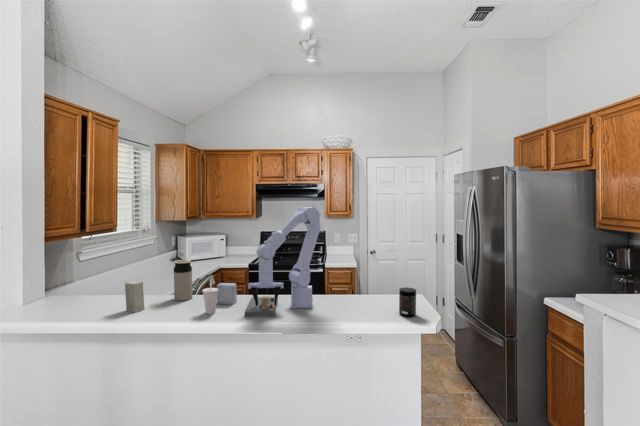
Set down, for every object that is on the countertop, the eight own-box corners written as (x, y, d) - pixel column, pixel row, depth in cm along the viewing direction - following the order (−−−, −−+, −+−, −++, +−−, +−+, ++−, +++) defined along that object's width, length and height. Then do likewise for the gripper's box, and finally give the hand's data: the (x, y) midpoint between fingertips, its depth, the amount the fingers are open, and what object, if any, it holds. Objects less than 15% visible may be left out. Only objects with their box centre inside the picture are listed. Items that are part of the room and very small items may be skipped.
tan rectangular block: (270, 310, 148) (270, 296, 148) (269, 312, 144) (269, 298, 144) (262, 310, 148) (262, 296, 147) (261, 312, 144) (261, 298, 144)
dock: (277, 301, 160) (277, 296, 160) (274, 316, 140) (274, 310, 140) (251, 301, 160) (251, 296, 159) (244, 316, 140) (244, 311, 139)
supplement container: (417, 313, 143) (417, 288, 142) (413, 318, 137) (414, 292, 136) (401, 311, 146) (401, 286, 146) (397, 316, 140) (397, 290, 140)
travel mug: (183, 301, 159) (183, 263, 159) (170, 300, 162) (169, 261, 162) (196, 297, 167) (195, 260, 166) (183, 295, 170) (182, 259, 169)
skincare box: (144, 309, 148) (143, 281, 148) (135, 312, 144) (134, 284, 144) (134, 307, 151) (133, 280, 151) (125, 310, 147) (124, 282, 146)
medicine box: (236, 301, 160) (236, 283, 159) (233, 304, 155) (233, 285, 155) (220, 301, 160) (220, 282, 160) (216, 304, 156) (216, 285, 156)
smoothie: (221, 310, 147) (221, 278, 146) (212, 315, 141) (211, 281, 140) (209, 309, 149) (208, 277, 148) (199, 314, 143) (198, 280, 142)
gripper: (246, 275, 141) (247, 308, 142) (282, 274, 142) (283, 307, 142) (249, 271, 148) (249, 303, 149) (283, 271, 149) (283, 302, 149)
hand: (266, 305), depth 146 cm, fingers open, 7 cm apart
